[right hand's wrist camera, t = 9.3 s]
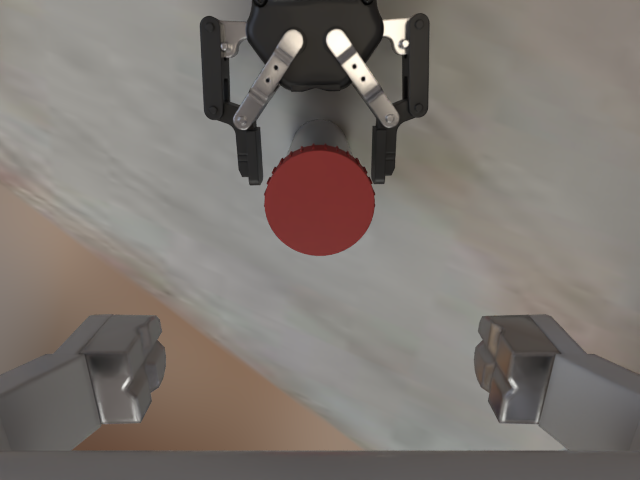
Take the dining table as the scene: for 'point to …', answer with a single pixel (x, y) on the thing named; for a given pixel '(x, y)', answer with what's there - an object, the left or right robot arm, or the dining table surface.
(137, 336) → the right robot arm
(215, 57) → the left robot arm
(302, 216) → the lid
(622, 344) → the dining table surface
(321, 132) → the blue grey cylinder
